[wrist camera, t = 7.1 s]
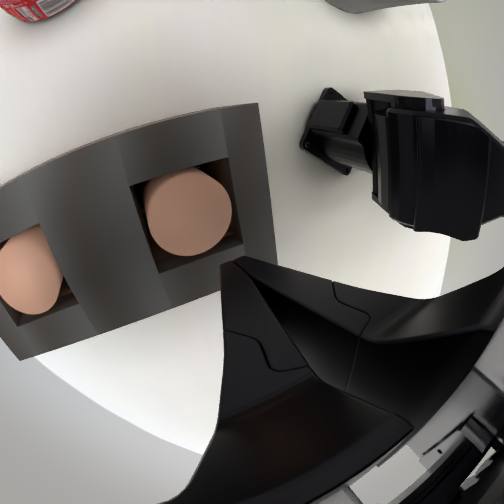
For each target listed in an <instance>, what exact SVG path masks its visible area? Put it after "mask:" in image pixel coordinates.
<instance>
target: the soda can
mask: <svg viewBox="0 0 504 504" xmlns="http://www.w3.org/2000/svg"><path fill="white" fill-rule="evenodd" d="M74 1H76V0H0V7H1V8H2V9H3V10H5V11H6V12H7V13H8V14H10V15H12V16H13V17H15V18H17V19H19V20H22V21H27V22H31V21H38V20H42V19H45V18H48V17H50V16H52V15H55V14H56V13H58V12H60V11H62V10H63V9H65V8H66V7H68V6H69V5H71V4H72V3H73V2H74Z"/></svg>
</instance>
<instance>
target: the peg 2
mask: <svg viewBox="0 0 504 504" xmlns="http://www.w3.org/2000/svg"><path fill="white" fill-rule="evenodd" d="M141 195H142V200H143V204H144V209H145V213H146V217H147V221H148V225H149V229H150V232H151V235H152V237H153V238H154V240H155V241H156V243H157V244H158V245H159V246H160V247H161V248H163V249H164V250H166V251H168V252H170V253H172V254H175V255H180V256H192V255H197V254H200V253H203V252H205V251H207V250H209V249H211V248H212V247H213V246H215V245H216V244H217V243H218V242H219V241H220V240H221V239H222V237H223V236H224V235H225V233H226V231H227V229H228V227H229V224H230V221H231V215H232V207H231V201H230V198H229V195H228V193H227V192H226V190H225V189H224V187H223V186H222V185H221V184H220V183H219V182H217V181H216V180H215V179H213V178H212V177H210V176H209V175H207V174H205V173H204V172H202V171H201V170H199V169H198V168H196V167H195V166H192V167H189V168H185V169H182V170H178V171H175V172H172V173H168V174H165V175H162V176H159V177H156V178H152V179H149V180H146V181H143V182H142V183H141Z"/></svg>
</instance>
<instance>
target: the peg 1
mask: <svg viewBox="0 0 504 504" xmlns="http://www.w3.org/2000/svg"><path fill="white" fill-rule="evenodd" d="M63 276H64V275H63V274H62V272H61V270H60V268H59V266H58V264H57V262H56V260H55V258H54V255H53V253H52V251H51V249H50V247H49V245H48V242H47V240H46V238H45V236H44V233H43V231H42V229H41V226H40V224H39V223H38V224H36V225H34V226H32V227H30V228H28V229H26V230H24V231H22V232H20V233H18V234H16V235H14V236H12V237H11V238H10V239H9V240H8V241H7V243H6V244H5V245H4V247H3V248H2V249H1V251H0V295H1V297H2V298H3V299H4V300H5V301H6V302H7V303H8V304H9V305H10V306H11V307H13V308H14V309H16V310H18V311H20V312H22V313H26V314H40V313H43V312H46V311H47V310H49V309H50V308H51V307H52V306H53V305H54V304H55V302H56V300H57V297H58V294H59V290H60V286H61V283H62V279H63Z"/></svg>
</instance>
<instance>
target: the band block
mask: <svg viewBox="0 0 504 504" xmlns="http://www.w3.org/2000/svg"><path fill="white" fill-rule="evenodd" d="M196 165H199V167H200V170H201V171H202V172H204V173H205V174H207V175H209V176H210V177H212V178H213V179H215V180H216V181H217V182H219V183H220V184H221V185H222V186H223V187H224V189H225V190H226V192H227V193H228V195H229V198H230V201H231V207H232V215H231V221H230V224H229V227H228V229H227V231H226V233H225V235H224V236H223V237H222V239H221V240H220V241H219V242H218V243H217V244H216V245H215V246H213V247H212V248H211V249H209V250H207V251H205V252H203V253H200V254H197V255H192V256H180V255H175V254H172V253H170V252H168V251H166V250H164V249H163V248H161V247H160V246H159V245H158V244H157V243H156V241H155V240H154V238H153V237H152V235H151V232H150V229H149V227H147V226H146V223H145V220H144V217H143V213H142V210H141V207H140V204H139V200H138V197H137V194H136V190H135V187H134V184H137V183H140V182H143V181H146V180H149V179H152V178H156V177H159V176H162V175H165V174H168V173H172V172H175V171H178V170H182V169H185V168H189V167H192V166H196ZM38 223H39V224H40V226H41V229H42V231H43V233H44V236H45V238H46V240H47V242H48V245H49V247H50V249H51V251H52V253H53V255H54V258H55V260H56V262H57V264H58V266H59V268H60V270H61V272H62V274H63V275H64V276H63V279H62V283H61V286H60V290H59V294H58V297H57V300H56V302H55V304H54V305H53V306H52V307H51V308H50V309H49V310H47V311H46V312H43V313H40V314H26V313H22V312H20V311H18V310H16V309H14V308H13V307H11V306H10V305H9V304H8V303H7V302H6V301H5V300H4V299H3V298H2V297H1V295H0V337H1V338H2V340H3V341H4V342H5V343H6V345H7V346H8V347H9V348H10V350H11V351H12V352H13V353H14V355H15V356H16V357H17V358H18V359H19V360H20V361H21V360H24V359H27V358H30V357H34V356H37V355H40V354H43V353H46V352H49V351H52V350H55V349H58V348H61V347H64V346H67V345H70V344H73V343H76V342H79V341H82V340H85V339H88V338H91V337H94V336H96V335H99V334H102V333H105V332H108V331H111V330H114V329H117V328H119V327H122V326H125V325H128V324H131V323H133V322H136V321H139V320H142V319H145V318H147V317H150V316H153V315H156V314H158V313H161V312H164V311H166V310H169V309H172V308H175V307H177V306H180V305H183V304H185V303H188V302H191V301H193V300H196V299H199V298H201V297H204V296H206V295H209V294H212V293H214V292H217V291H220V290H221V286H220V264H222V263H224V262H227V261H230V260H231V261H233V259H235V258H238V257H241V256H248V257H251V258H255V259H258V260H262V261H265V262H269V263H272V264H276V265H278V263H277V253H276V244H275V234H274V225H273V217H272V208H271V199H270V191H269V183H268V175H267V167H266V159H265V151H264V144H263V136H262V129H261V121H260V114H259V107H258V103H251V104H241V105H232V106H224V107H217V108H211V109H206V110H201V111H196V112H192V113H187V114H183V115H179V116H174V117H170V118H166V119H163V120H159V121H155V122H152V123H148V124H145V125H141V126H138V127H135V128H131V129H128V130H125V131H122V132H119V133H116V134H113V135H110V136H107V137H105V138H102V139H99V140H96V141H94V142H91V143H88V144H86V145H83V146H81V147H78V148H76V149H74V150H71V151H69V152H67V153H64V154H62V155H60V156H58V157H55V158H53V159H51V160H49V161H47V162H45V163H43V164H41V165H38V166H36V167H34V168H33V169H31V170H29V171H27V172H25V173H23V174H21V175H19V176H17V177H16V178H14V179H12V180H10V181H8V182H7V183H5V184H3V185H2V186H0V251H1V249H2V248H3V247H4V245H5V244H6V243H7V241H8V240H9V239H10V238H11V237H12V236H14V235H16V234H18V233H20V232H22V231H24V230H26V229H28V228H30V227H32V226H34V225H36V224H38Z"/></svg>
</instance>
